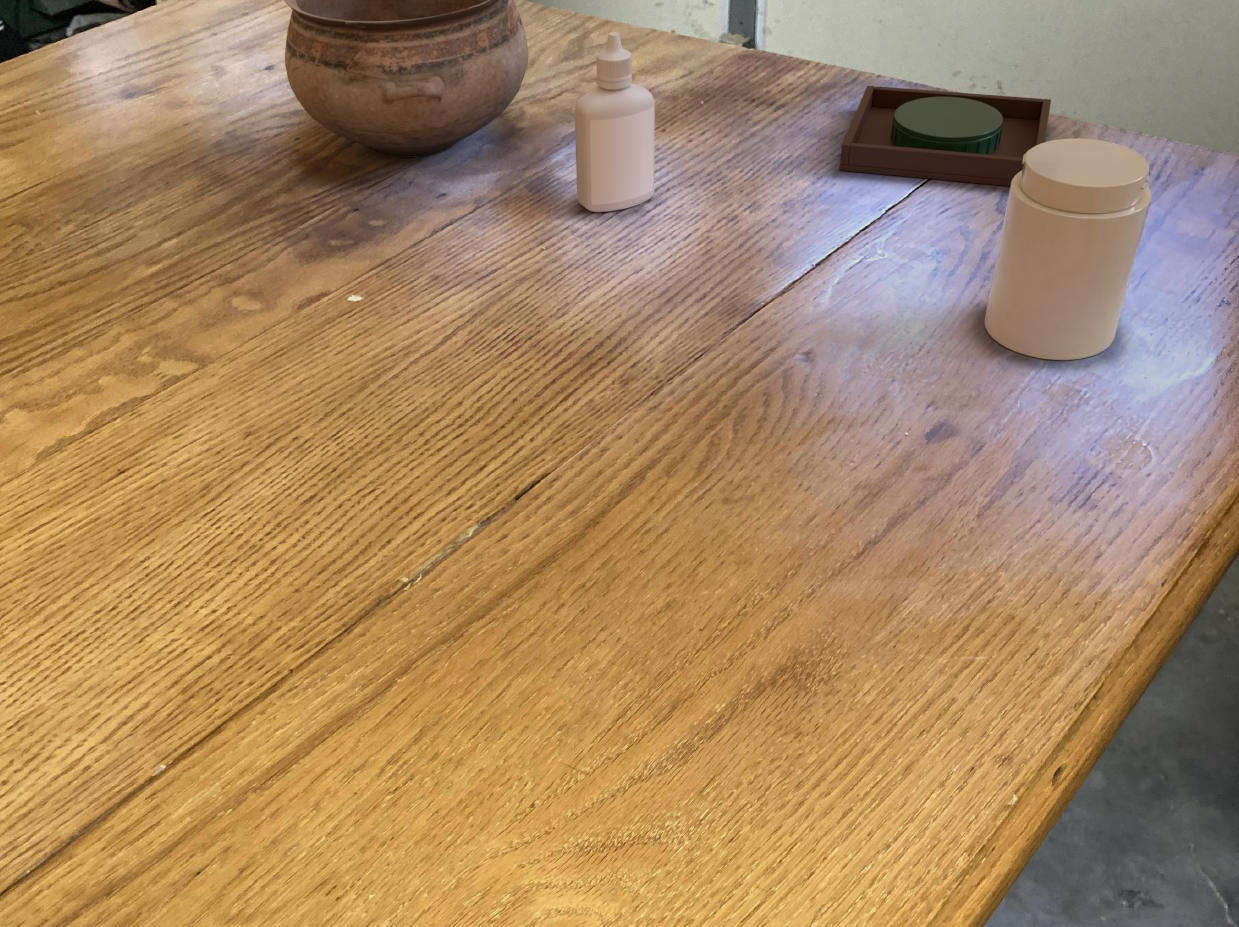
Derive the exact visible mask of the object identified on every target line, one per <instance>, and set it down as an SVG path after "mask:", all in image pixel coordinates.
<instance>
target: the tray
mask: <svg viewBox="0 0 1239 927" xmlns="http://www.w3.org/2000/svg"><path fill="white" fill-rule="evenodd" d="M928 97H958V98H966V99H971V100H975V101H979V102H982V103H985V104H988V105H990V106H992V107H993V108H995V109H996V110H998V111H999V112H1000V113H1001V115H1002V117H1003V124H1002V128H1003V129H1002V134H1001V140H1000V145H998V147H997V148H996V150H995V151H994V152H992V153H991V154H989V155H987V154H975V153H964V152H953V151H941V150H930V149H918V148H907V147H896V146H895V145H894V144H893V142H892V139H891V131H892V123H893V117H894V114H895V111H896V110H897V108H899V107H900V106H901V105H903V104H905V103H907V102H910V101H913V100H916V99H921V98H928ZM1051 104H1052V99H1050V98H1049V99H1048V98H1036V97H1022V96H1009V95H998V94H997V95H996V94H985V93H971V92H958V91H944V90H943V91H942V90H929V89H916V88H905V87H890V86H878V85H876V86H874V85H867V86H866V87H865V90H864V92H863V95H862V97H861V100H860V102H859V104H858V107H857V108H856V112H855V113H854V116H853V118H852V121H851V123H850V125H849V128H848V130H847V133H846V135H845V137H844V139H843V142H842V144H841V151H840V161H839V171H842V172H843V171H844V172H854V173H864V174H865V173H866V174H874V175H885V176H887V175H888V176H897V177H905V178H907V177H908V178H918V179H930V180H938V181H950V182H961V183H971V184H983V185H993V186H1004V187H1005V186H1006V187H1010V185H1011V181H1012V179H1013V178H1014V176H1015V175H1016V174H1018V173H1019V172H1020V171H1022V170H1023V166H1024V164H1022V161H1023V156H1024V154H1026V152H1027V151H1028V150H1030V149H1031V148H1033V147H1034V146H1036V145H1039V144H1041V143H1044V142H1046V138H1047V132H1048V125H1049V117H1050V111H1051Z"/></svg>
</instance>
